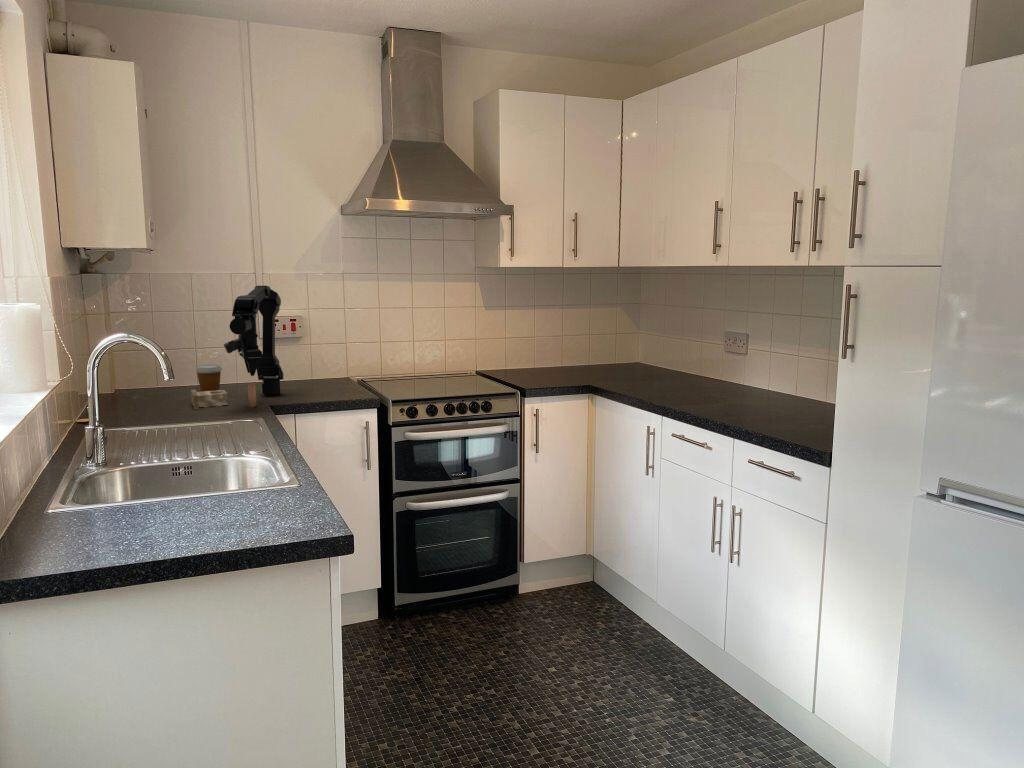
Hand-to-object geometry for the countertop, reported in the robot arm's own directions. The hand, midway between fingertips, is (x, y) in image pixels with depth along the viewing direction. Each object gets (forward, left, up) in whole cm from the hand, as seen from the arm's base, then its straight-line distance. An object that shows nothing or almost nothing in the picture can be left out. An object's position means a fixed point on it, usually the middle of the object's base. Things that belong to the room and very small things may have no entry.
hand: (250, 374), depth 275 cm
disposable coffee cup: (+12, -27, -12) cm, 32 cm away
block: (+13, -10, -12) cm, 20 cm away
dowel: (0, 0, -12) cm, 12 cm away
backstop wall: (+19, -10, -12) cm, 24 cm away
